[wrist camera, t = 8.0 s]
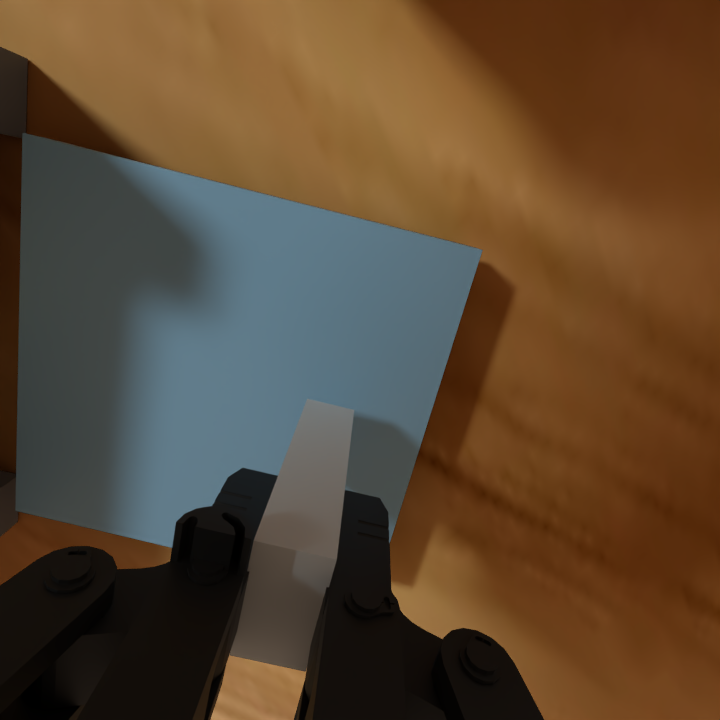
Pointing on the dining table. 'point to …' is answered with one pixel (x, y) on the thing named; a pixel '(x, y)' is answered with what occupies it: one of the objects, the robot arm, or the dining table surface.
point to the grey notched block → (8, 116)
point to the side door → (211, 338)
